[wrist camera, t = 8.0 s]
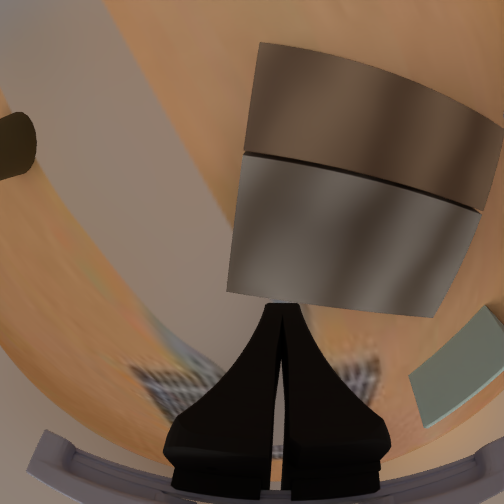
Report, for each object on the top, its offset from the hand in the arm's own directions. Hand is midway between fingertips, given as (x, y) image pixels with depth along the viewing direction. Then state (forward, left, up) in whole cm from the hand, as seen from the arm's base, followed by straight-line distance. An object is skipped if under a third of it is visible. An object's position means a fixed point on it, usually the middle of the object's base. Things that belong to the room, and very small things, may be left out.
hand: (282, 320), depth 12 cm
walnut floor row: (-6, -9, -9) cm, 14 cm away
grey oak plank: (-6, -5, -8) cm, 11 cm away
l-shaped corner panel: (-26, +12, -10) cm, 30 cm away
